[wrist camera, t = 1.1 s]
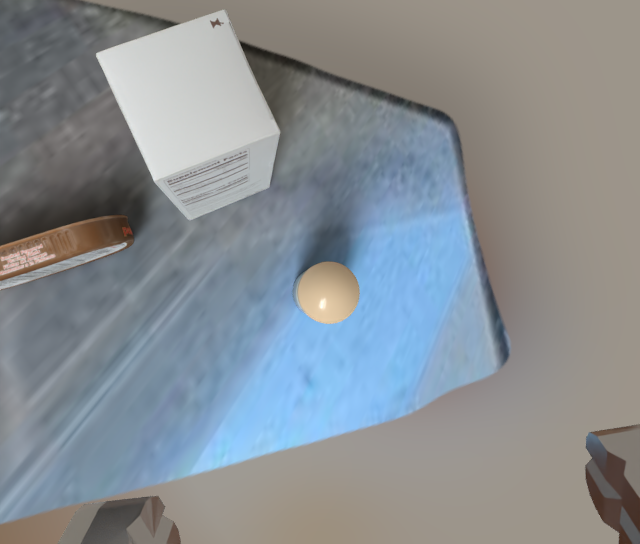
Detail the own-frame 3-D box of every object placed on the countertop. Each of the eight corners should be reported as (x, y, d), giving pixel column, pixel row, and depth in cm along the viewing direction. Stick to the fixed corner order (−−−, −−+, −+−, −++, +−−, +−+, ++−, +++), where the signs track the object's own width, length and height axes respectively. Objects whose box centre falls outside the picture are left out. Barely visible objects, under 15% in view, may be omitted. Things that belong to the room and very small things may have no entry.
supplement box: (148, 137, 45) (88, 46, 28) (233, 104, 47) (224, -1, 30) (188, 224, 45) (152, 184, 29) (272, 189, 47) (284, 131, 30)
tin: (136, 219, 45) (110, 202, 36) (147, 249, 45) (123, 239, 36) (-23, 270, 42) (-90, 264, 34) (-11, 301, 42) (-75, 303, 34)
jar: (280, 286, 46) (285, 285, 38) (321, 256, 47) (335, 249, 39) (310, 328, 47) (322, 336, 39) (351, 298, 47) (371, 299, 40)
